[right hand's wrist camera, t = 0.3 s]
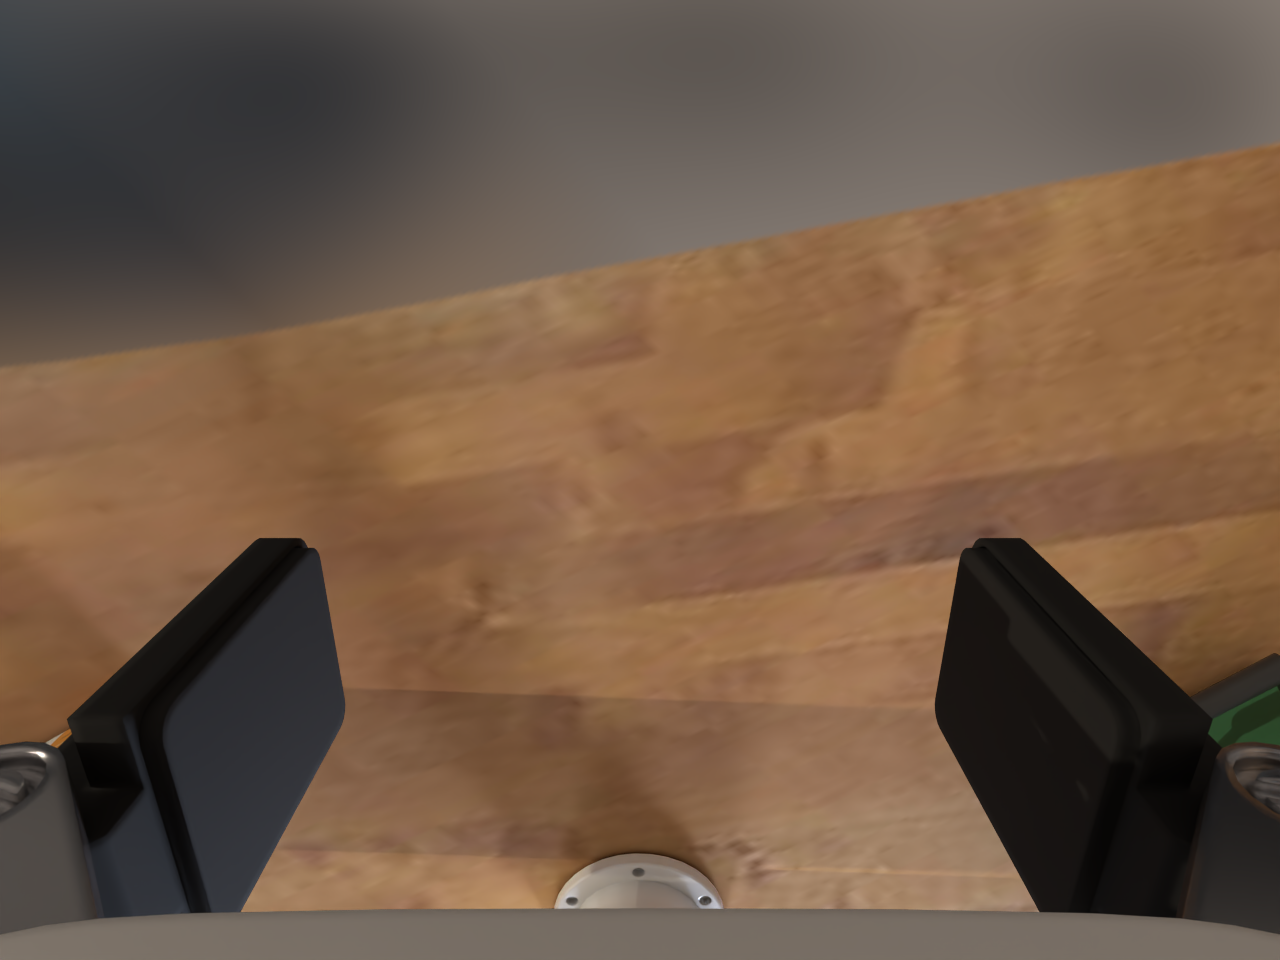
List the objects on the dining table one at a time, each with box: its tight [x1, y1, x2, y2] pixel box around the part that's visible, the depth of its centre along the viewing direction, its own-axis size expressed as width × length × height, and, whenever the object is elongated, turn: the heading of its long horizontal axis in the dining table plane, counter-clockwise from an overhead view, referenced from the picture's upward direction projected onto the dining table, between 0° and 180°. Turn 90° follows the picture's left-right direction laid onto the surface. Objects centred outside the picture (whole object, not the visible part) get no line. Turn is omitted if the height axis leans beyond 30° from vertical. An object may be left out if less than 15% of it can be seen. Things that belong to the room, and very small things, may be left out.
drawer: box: [1190, 653, 1280, 748], centre depth 45 cm, size 18×10×9 cm, turn 38°
